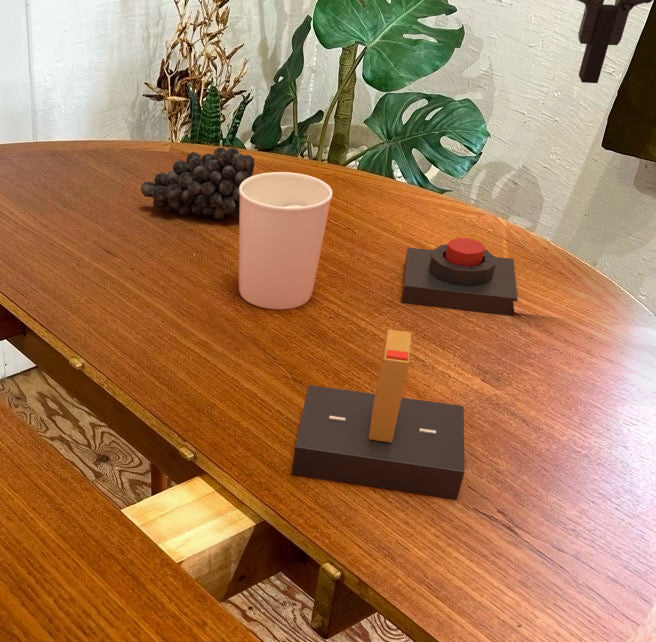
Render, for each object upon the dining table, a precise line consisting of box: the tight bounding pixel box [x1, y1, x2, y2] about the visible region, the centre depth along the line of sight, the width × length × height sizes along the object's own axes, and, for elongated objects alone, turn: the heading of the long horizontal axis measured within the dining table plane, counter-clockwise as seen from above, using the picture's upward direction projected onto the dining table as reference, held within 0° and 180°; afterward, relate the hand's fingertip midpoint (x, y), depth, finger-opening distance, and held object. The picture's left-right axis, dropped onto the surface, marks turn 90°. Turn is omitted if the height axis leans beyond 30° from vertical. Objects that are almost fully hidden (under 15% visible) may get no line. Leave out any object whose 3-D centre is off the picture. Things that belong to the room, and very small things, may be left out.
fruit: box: [140, 147, 255, 220], centre depth 124 cm, size 9×8×15 cm
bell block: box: [400, 243, 519, 317], centre depth 109 cm, size 12×10×4 cm
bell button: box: [445, 237, 486, 266], centre depth 107 cm, size 4×4×2 cm
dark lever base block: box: [291, 384, 466, 500], centre depth 85 cm, size 14×10×3 cm
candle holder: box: [238, 171, 333, 310], centre depth 105 cm, size 10×10×12 cm
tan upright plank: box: [369, 329, 413, 443], centre depth 81 cm, size 5×2×8 cm, turn 166°
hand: (587, 78), depth 96 cm, fingers closed
